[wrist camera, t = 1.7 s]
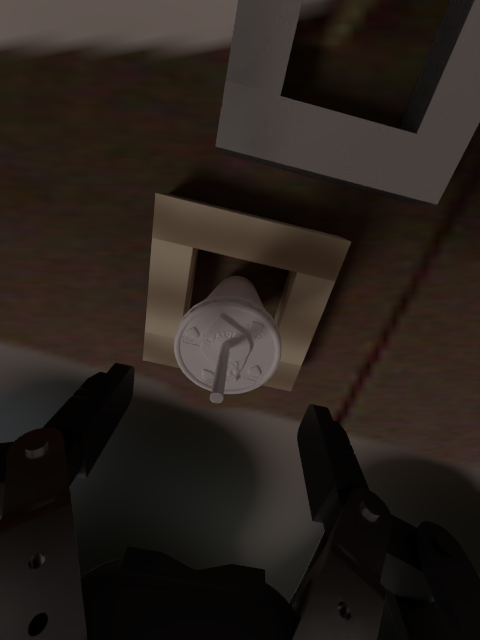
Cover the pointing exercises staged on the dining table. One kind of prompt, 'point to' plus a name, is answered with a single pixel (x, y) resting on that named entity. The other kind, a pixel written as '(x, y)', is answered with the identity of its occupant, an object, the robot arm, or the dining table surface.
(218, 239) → the socket block
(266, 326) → the smoothie
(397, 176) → the ring
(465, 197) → the dining table surface
